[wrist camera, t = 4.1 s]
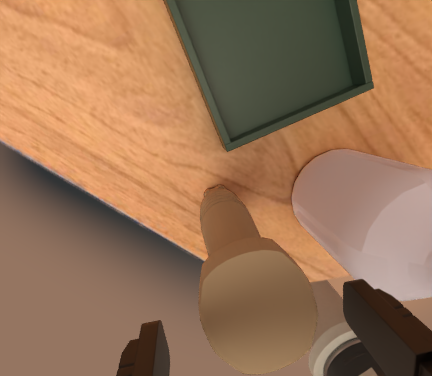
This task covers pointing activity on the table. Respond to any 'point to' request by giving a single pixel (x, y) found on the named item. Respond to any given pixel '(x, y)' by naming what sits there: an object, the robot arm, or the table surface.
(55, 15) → the table surface
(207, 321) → the handle
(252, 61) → the brush tray
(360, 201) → the soap bottle
